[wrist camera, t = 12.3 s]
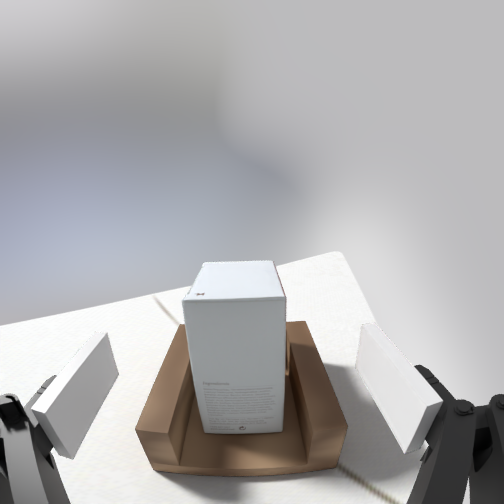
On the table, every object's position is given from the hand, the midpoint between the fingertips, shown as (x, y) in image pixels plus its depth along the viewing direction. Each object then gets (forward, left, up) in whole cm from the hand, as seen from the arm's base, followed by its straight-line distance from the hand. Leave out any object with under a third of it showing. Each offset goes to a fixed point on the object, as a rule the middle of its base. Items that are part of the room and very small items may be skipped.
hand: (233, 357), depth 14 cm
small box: (0, +6, -8) cm, 10 cm away
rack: (0, +6, -9) cm, 11 cm away
